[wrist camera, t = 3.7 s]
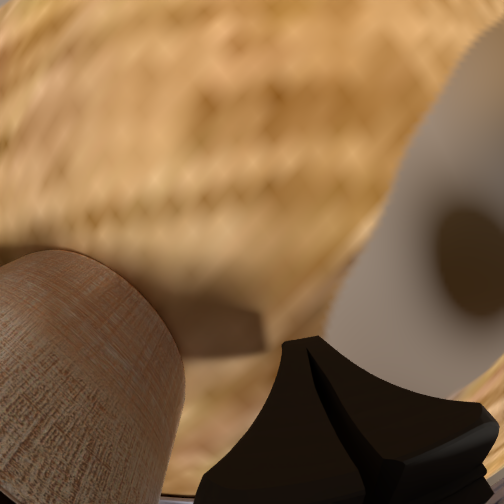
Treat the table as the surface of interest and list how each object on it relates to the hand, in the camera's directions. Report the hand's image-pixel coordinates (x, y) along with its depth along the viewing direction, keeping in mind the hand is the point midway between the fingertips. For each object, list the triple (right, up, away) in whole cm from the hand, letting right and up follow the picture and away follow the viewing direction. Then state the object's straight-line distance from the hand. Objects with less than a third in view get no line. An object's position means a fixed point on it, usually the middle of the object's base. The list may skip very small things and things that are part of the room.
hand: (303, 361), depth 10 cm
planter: (-10, -1, +2) cm, 10 cm away
